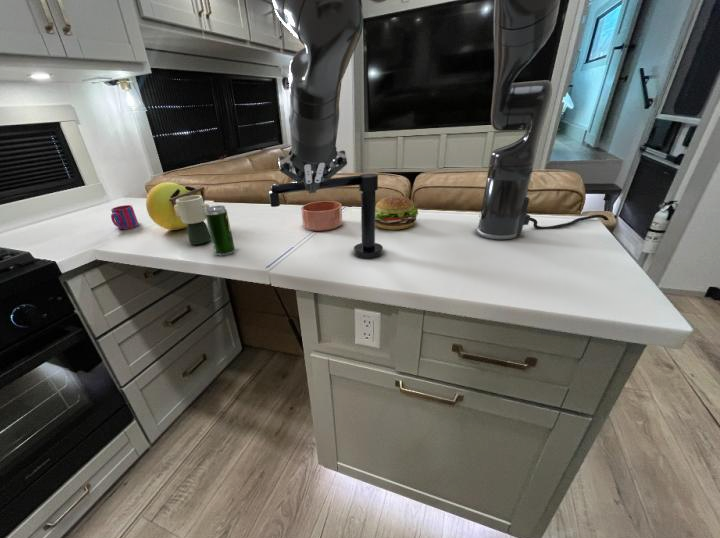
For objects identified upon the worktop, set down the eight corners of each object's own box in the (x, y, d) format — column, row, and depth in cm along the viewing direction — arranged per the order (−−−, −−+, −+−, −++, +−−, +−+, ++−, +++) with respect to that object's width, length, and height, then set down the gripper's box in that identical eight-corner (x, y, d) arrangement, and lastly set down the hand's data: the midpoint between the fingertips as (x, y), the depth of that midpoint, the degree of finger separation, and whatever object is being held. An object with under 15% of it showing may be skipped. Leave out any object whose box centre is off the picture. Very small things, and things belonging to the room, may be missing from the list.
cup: (142, 223, 121) (136, 204, 117) (124, 232, 112) (116, 212, 109) (126, 223, 122) (119, 205, 119) (107, 232, 114) (99, 213, 110)
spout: (374, 192, 76) (374, 172, 74) (379, 196, 73) (380, 175, 70) (270, 203, 74) (267, 183, 72) (270, 208, 71) (267, 187, 68)
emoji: (182, 238, 102) (167, 188, 95) (143, 235, 108) (126, 188, 100) (212, 222, 115) (201, 177, 107) (177, 220, 120) (164, 177, 113)
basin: (342, 218, 108) (341, 199, 105) (342, 230, 97) (342, 210, 94) (305, 220, 108) (303, 202, 105) (301, 233, 98) (299, 213, 95)
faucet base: (380, 247, 84) (382, 186, 76) (384, 258, 78) (386, 193, 70) (353, 248, 85) (351, 188, 77) (354, 259, 79) (353, 195, 71)
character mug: (223, 238, 99) (212, 194, 93) (212, 246, 93) (200, 200, 87) (190, 238, 102) (178, 195, 95) (178, 247, 96) (164, 201, 89)
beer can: (219, 257, 86) (207, 212, 80) (212, 252, 90) (201, 208, 84) (238, 252, 88) (228, 207, 82) (231, 247, 92) (221, 204, 86)
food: (368, 218, 106) (368, 192, 102) (413, 216, 103) (415, 190, 99) (368, 232, 94) (368, 204, 90) (419, 231, 92) (421, 202, 88)
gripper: (274, 149, 50) (282, 209, 67) (359, 140, 51) (346, 201, 68) (269, 109, 52) (278, 177, 68) (351, 101, 53) (340, 170, 69)
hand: (312, 189), depth 68 cm, fingers closed
